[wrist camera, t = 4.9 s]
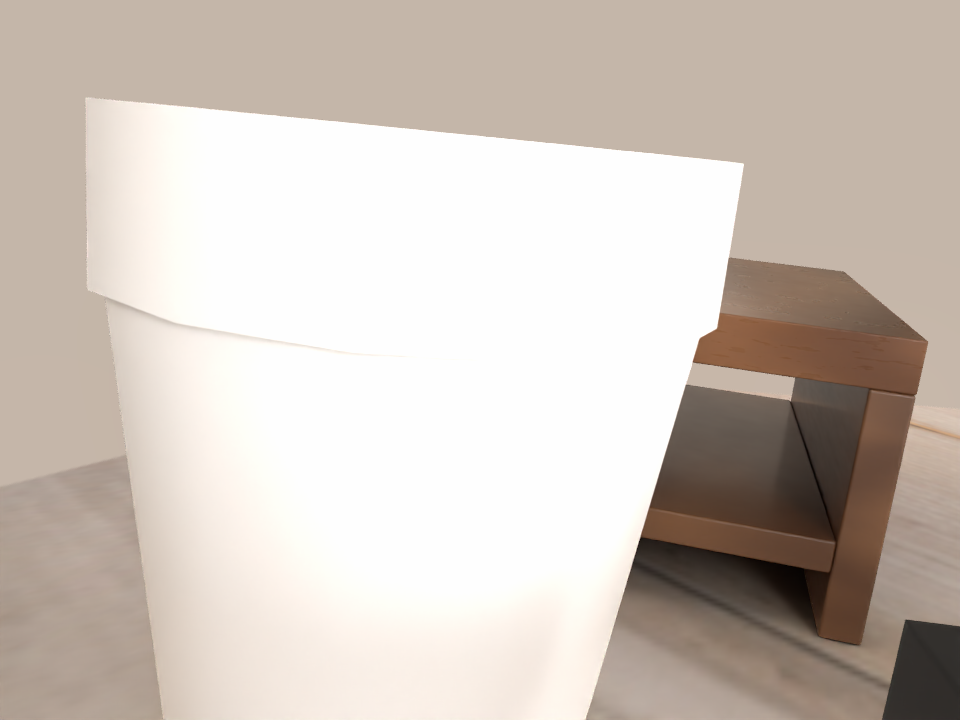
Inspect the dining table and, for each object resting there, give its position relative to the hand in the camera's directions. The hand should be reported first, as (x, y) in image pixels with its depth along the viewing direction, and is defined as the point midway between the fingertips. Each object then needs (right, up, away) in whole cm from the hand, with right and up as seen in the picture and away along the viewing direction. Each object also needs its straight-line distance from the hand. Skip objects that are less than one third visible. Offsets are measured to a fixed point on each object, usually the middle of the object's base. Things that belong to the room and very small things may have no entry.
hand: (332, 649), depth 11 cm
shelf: (+8, -2, +24) cm, 25 cm away
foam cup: (0, -6, +6) cm, 8 cm away
